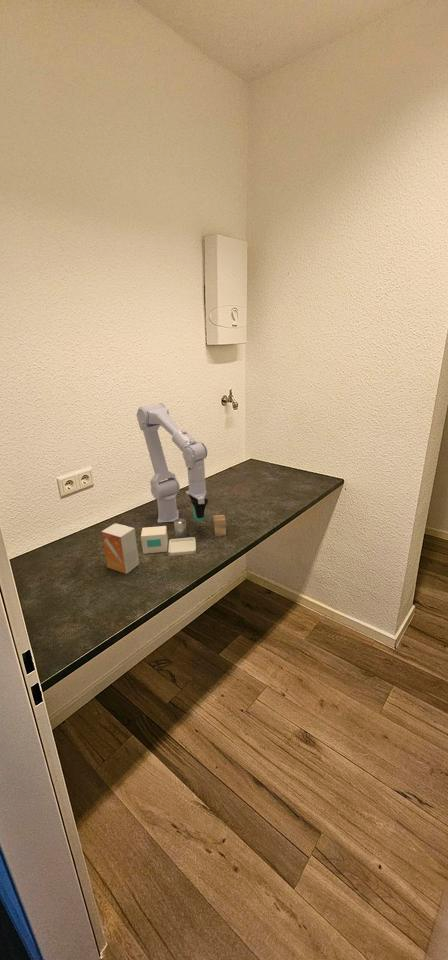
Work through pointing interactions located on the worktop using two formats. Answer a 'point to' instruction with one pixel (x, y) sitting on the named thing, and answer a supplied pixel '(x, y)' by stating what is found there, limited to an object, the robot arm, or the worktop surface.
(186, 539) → the tray
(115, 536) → the small box
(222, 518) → the oak block
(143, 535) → the block
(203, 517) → the cylinder
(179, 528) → the cylinder
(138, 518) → the worktop surface
